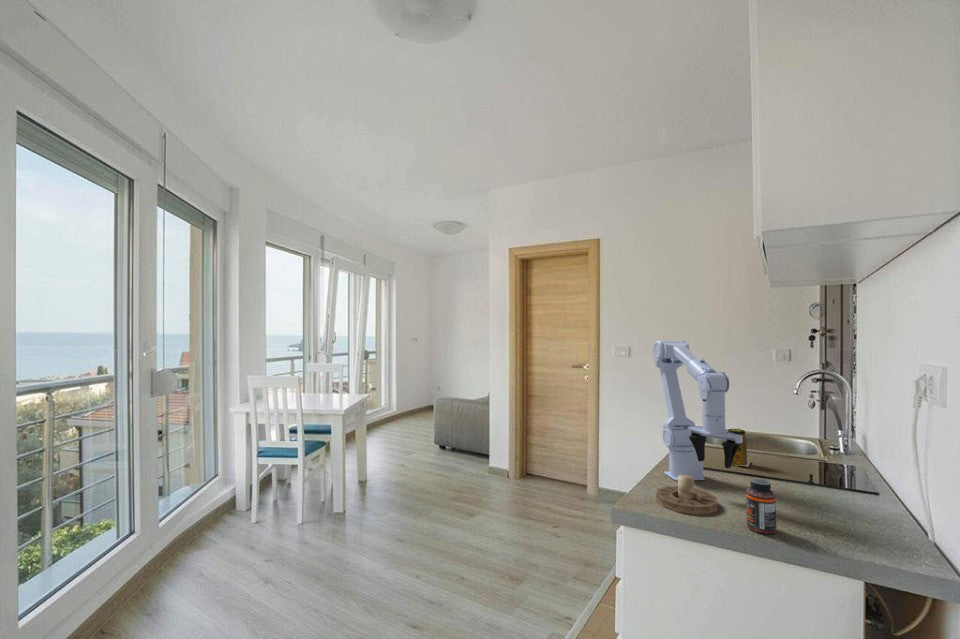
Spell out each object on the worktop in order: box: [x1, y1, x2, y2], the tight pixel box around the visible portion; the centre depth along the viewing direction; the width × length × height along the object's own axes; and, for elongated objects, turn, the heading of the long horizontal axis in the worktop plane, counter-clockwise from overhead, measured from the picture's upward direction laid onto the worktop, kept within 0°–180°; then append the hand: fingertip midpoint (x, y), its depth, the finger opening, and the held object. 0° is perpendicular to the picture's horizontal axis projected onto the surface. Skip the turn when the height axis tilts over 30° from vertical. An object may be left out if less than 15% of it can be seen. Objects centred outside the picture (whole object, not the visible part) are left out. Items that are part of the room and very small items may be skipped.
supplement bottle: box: [745, 478, 777, 535], centre depth 106 cm, size 6×6×11 cm
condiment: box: [727, 428, 748, 465], centre depth 158 cm, size 7×8×12 cm
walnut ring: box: [655, 485, 719, 515], centre depth 122 cm, size 15×15×2 cm
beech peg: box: [677, 475, 695, 501], centre depth 122 cm, size 4×4×7 cm
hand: (714, 464), depth 126 cm, fingers open, 7 cm apart
